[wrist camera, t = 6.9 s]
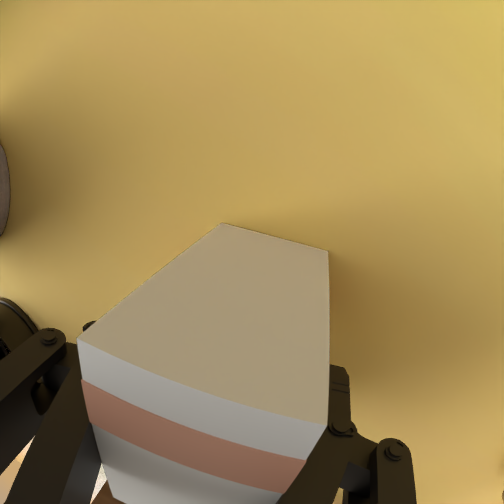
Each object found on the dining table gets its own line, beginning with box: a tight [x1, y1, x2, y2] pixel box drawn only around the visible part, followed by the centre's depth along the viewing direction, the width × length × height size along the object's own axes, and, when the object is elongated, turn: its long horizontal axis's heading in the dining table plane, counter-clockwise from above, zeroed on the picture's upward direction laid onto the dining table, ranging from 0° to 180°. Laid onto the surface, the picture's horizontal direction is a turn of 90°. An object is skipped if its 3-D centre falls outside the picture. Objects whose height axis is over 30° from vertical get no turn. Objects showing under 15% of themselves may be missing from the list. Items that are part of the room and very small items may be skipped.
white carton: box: [77, 223, 330, 504], centre depth 11 cm, size 8×5×10 cm, turn 168°
